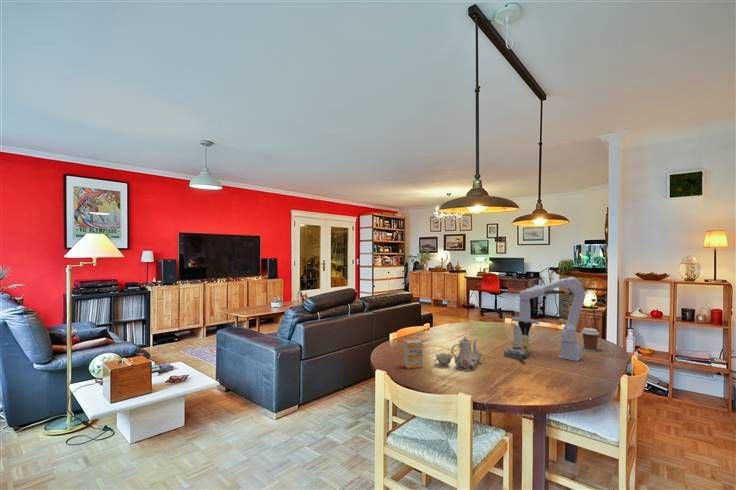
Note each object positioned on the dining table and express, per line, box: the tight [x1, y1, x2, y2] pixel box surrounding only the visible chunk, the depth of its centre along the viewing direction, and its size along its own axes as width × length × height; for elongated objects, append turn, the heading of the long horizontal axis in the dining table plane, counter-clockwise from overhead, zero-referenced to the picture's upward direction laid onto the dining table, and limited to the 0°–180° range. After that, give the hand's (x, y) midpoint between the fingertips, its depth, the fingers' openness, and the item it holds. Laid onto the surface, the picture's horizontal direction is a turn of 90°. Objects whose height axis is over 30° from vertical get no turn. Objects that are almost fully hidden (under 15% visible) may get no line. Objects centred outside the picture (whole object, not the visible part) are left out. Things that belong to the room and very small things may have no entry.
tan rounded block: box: [521, 337, 530, 352], centre depth 205 cm, size 3×5×9 cm, turn 134°
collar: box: [507, 345, 527, 360], centre depth 195 cm, size 17×7×2 cm, turn 173°
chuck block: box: [503, 350, 531, 361], centre depth 200 cm, size 10×10×2 cm
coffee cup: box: [580, 327, 600, 352], centre depth 212 cm, size 9×9×12 cm
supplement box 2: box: [512, 322, 530, 347], centre depth 225 cm, size 7×7×13 cm
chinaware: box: [434, 335, 486, 372], centre depth 184 cm, size 28×17×17 cm, turn 111°
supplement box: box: [404, 339, 423, 370], centre depth 184 cm, size 8×5×13 cm, turn 105°
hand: (525, 335), depth 205 cm, fingers closed
